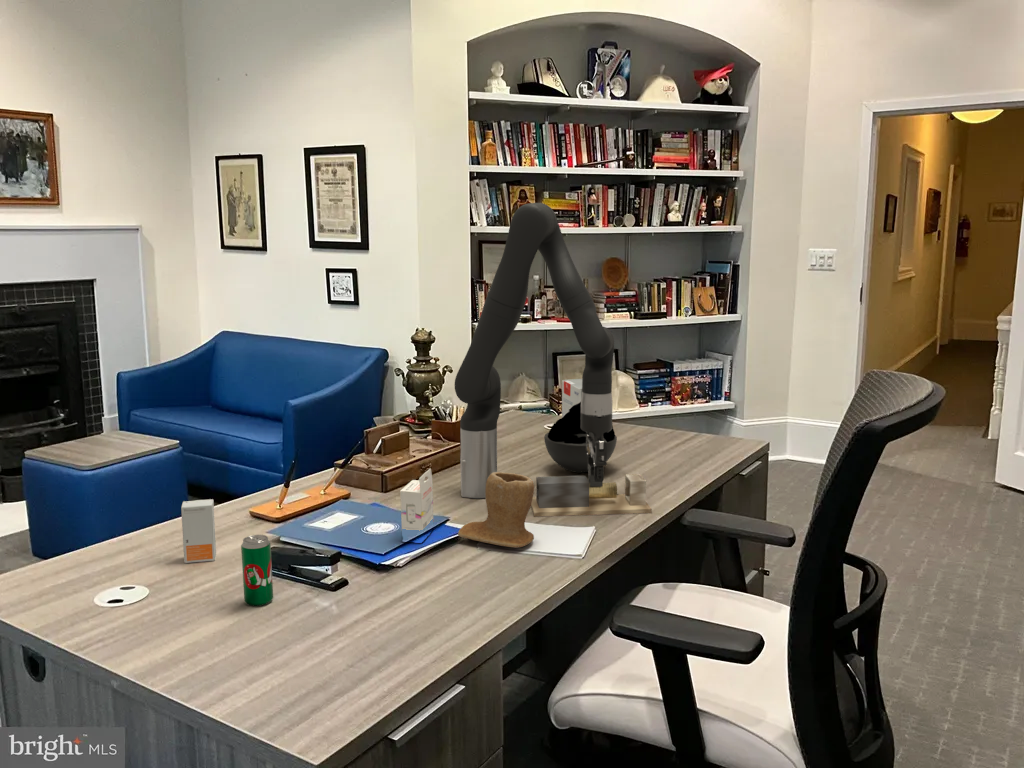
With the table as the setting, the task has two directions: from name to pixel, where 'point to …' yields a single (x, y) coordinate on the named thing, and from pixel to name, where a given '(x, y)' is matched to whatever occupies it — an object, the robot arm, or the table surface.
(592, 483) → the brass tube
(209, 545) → the skincare box
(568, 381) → the hard drive box
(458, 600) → the table surface
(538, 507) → the tube stand
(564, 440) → the coal bowl
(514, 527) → the brown felt boot
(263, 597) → the soda can
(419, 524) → the ink cartridge box
